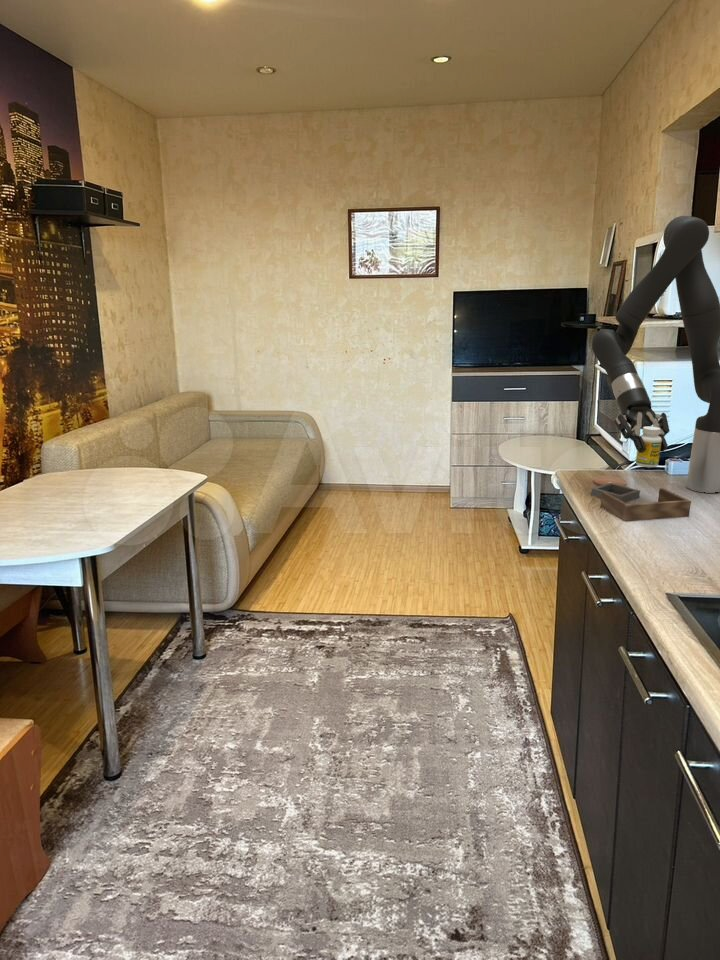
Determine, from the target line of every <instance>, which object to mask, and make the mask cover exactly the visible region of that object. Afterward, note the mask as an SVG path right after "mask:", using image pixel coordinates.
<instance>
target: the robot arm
mask: <svg viewBox="0 0 720 960" xmlns="http://www.w3.org/2000/svg"><path fill="white" fill-rule="evenodd" d="M662 236H663V239H662V240H663V244H664V247H665V248H664V250H663V252H662V253H661V256H660V257H659V258H658V260H657V262H656V263H655V265H653V267H652V269H651V270H650V271H648V273H647V274H646V275H645V276H644V277H643V278H642V279H641V280H640V281H639V282H638V283H637V284H636V286H634V288H633V289H632V290H631V291H630V293H629V294H628V296H627V297H626V299H625V300H624V301H623V303H622V304H621V306H620V308H619V309H618V311H617V312H616V313H615V316H614V318H615V320H616V322H617V323H618V326H617V329H616V331H614V330H611V329H607V328H603V329H600V330H598V331H597V332H595V334H594V335H593V337H592V341H591V349H592V352H593V354H594V356H595V357H596V359H597V361H598V362H599V364H600V365H601V367H602V368H603V369H604V370H605V373H606V375H607V377H608V380H609V383H610V384H611V388H612V392H613V395H614V398H615V400H616V403H617V406H618V408H619V411H620V414H618V416H616V417H615V419H614V423H615V425H616V427H617V428H618V430H619V432H620V434H621V435H622V437H623V438H624V439H625V440H627V439H630V440H631V441H632V442H633V444H634V447H635V450H636V452H637V451H639V453H643V452H644V451H645V450H646V446H645V444H644V441H643V439H642V436H641V430H643V427H646V426H652V427H658V428H660V434H659V435H658V436H660V437H661V439H662V442H661V449H660V453H663V452H665V451H666V450H667V449H668V447H669V446H668V445H669V444H668V442H667V440H666V438H665V437H666V435H667V434H669V433H670V430H671V429H670V426H669V423H668V422H669V421H668V418H667V414H666V413H665V412H661V414H658V413H656V412H655V411H654V410H653V409H652V402H651V399H650V397H649V394H648V392H647V389H646V388H645V385H644V383H643V381H642V378H641V377H640V376H639V374H638V370H637V369H636V366H635V364H634V362H633V361H632V360H631V358H629V357H628V356H627V354H629V352H630V351H631V349H632V347H633V345H634V342H635V340H636V337H637V335H638V333H639V329H640V327H641V325H642V324H643V322H644V321H645V320H646V318H647V317H648V316H649V315H650V312H651V311H652V310H653V309H654V306H655V305H656V304H657V302H658V301H659V299H661V297H662V296H663V294H664V293H665V292H666V290H667V289H668V287H670V285H671V284H672V283H673V282H674V280H675V285H676V291H677V292H676V293H677V298H678V303H679V309H680V315H681V319H682V323H683V327H684V331H685V334H686V340H687V343H688V349H689V353H690V359H691V365H692V366H691V367H692V376H693V377H692V378H693V385H694V390H695V394H696V396H697V398H698V399H699V400H700V401H701V402H702V401H703V402H704V403H707V404H709V406H708V409H707V413H706V414H705V415H702V416H698V417H697V418H696V421H695V426H694V431H693V438H692V443H691V444H692V445H691V453H690V457H689V464H688V465H689V466H688V472H687V477H686V483H685V484H686V485H685V487H686V488H687V489H689V490H692V491H695V492H698V493H704V492H705V493H704V494H716V493H715V492H719V493H720V361H719V355H718V345H719V340H720V299H719V296H718V293H717V291H716V289H715V288H716V287H715V286H714V283H713V282H712V280H711V278H710V276H709V274H708V272H707V269H706V267H705V262H704V258H703V251H702V250H703V248H704V247H706V244H707V243H708V241H709V236H710V228H709V225H708V224H707V222H706V221H705V220H703V219H701V218H700V217H696V216H691V215H680V216H677V217H674V218H673V219H671V221H669V223H667V225H666V226H665V229H664V232H663V235H662Z"/></svg>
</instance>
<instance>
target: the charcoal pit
mask: <svg viewBox="0 0 720 960" xmlns="http://www.w3.org/2000/svg"><path fill="white" fill-rule="evenodd" d="M602 492H606V493H608V494H610V495H612V496H614V497H616V498H618V499H619V500H621V501H623V502H625V503H627V502H630V501H631V502H632V501H634V500H636V499H639V498H640V494H641V490H639V489H635V488H632V487H628V486H621V485H617V484H613V483H608V484H605V485H601V486H599V485H597V486H596V487H592V488H591V492H590V493H591V494H590V496H593V497H595V496H596V498H598V497H599V498H600V499H601V496H602Z"/></svg>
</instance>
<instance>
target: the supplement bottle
mask: <svg viewBox="0 0 720 960" xmlns="http://www.w3.org/2000/svg"><path fill="white" fill-rule="evenodd" d="M642 433H643V434H640V436H642V439H643V441H644V444H645V446H646V450H645V451H644V452H643V453H639V451H637V450H636V458H635V464H636V465H637V466H639V467H642V468H657V467H658V466H659V462H660V454H661V452H660V449H661V442H662V439H661V437H660V436H658V435H659V434H660V428H658V427H653V425H652V426H646V427H643V429H642Z"/></svg>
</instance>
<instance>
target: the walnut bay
mask: <svg viewBox="0 0 720 960" xmlns="http://www.w3.org/2000/svg"><path fill="white" fill-rule="evenodd" d="M658 490H659V491H658V498H657V501H656V502H639V503H627V502H623V501H621V500H619V499H618V498H616V497H614V496H612V495H610V494H608V493H606V492H602V496H601V498H600V505H599V507H600V508H601V507H602V508H601V509H603V508H604V509H603V510H605V509H606V510H607V511H606V510H605V511H606V512H608V511H609V512H608V513H609V514H612V515H613V514H614V516H615V517H617V518H619V519H620V520H622V521H624V522H632V521H646V520H656V519H657V520H658V519H672V518H684V517H690V512H691V507H692V506H691V505H692V500H690V499H687V498H685V497H683V496H681V495H679V494H677V493H674V492H672V491H671V490H668V489H666V488H663V487H661V488H659V489H658Z"/></svg>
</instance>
